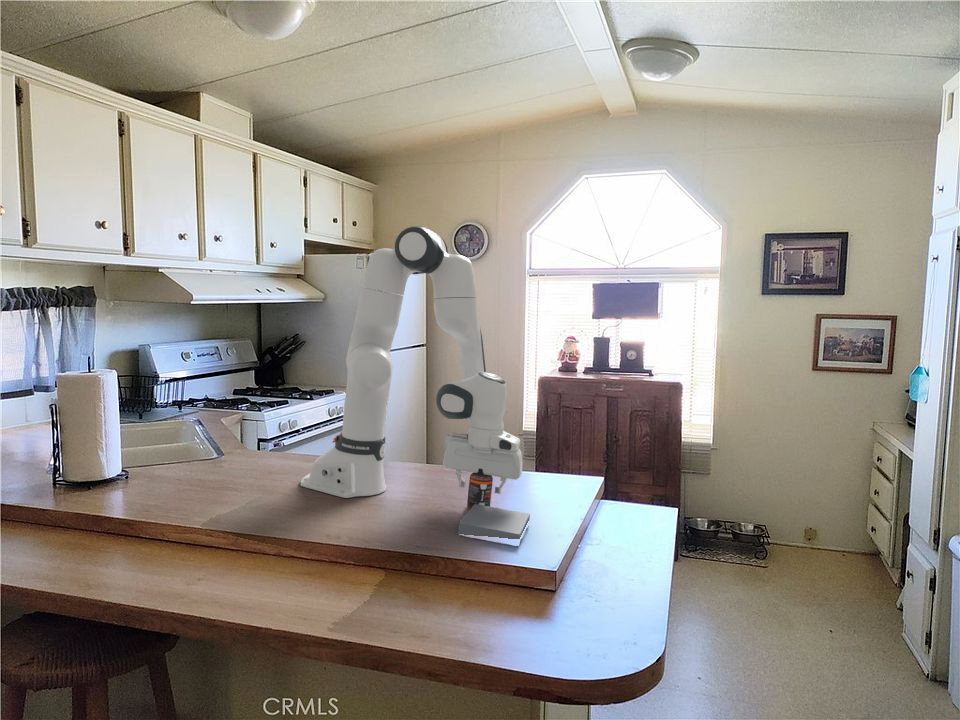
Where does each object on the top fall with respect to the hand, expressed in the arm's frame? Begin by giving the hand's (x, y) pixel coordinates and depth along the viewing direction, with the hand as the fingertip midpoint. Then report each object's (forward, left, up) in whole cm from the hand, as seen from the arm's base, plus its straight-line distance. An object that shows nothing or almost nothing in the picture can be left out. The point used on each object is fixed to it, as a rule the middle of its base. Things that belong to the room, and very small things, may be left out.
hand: (480, 489), depth 163 cm
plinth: (+7, -12, -5) cm, 15 cm away
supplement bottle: (0, 0, -5) cm, 5 cm away
